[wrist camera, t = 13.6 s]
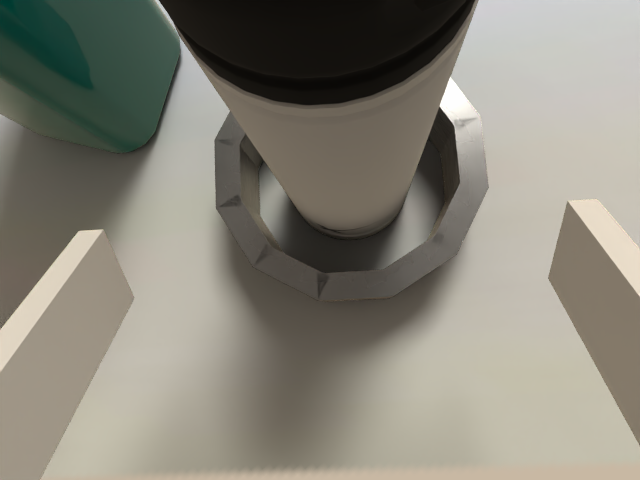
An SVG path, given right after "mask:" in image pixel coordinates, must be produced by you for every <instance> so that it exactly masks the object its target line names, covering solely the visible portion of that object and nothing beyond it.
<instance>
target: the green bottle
mask: <svg viewBox="0 0 640 480" xmlns="http://www.w3.org/2000/svg"><path fill="white" fill-rule="evenodd" d="M179 55H180V40H179V36H178V34H177V33H176V31H175V29H174V27H173V26H172V24H171V23H170V21H169V20H168V18H167V17H166V15H165V14H164V12H163V11H162V10H161V8H160V7H159V5H158V4H157V2H156V1H155V0H0V114H1V115H3V116H5V117H7V118H9V119H11V120H13V121H15V122H16V123H18V124H20V125H22V126H24V127H26V128H28V129H30V130H31V131H33V132H35V133H37V134H39V135H43V136H47V137H51V138H55V139H59V140H64V141H68V142H72V143H76V144H80V145H85V146H89V147H93V148H97V149H101V150H106V151H110V152H114V153H124V152H130V151H134V150H136V149H138V148H139V147H141V146H143V145H144V144H146V143H147V142H148V141H149V139H150V138H151V137H152V136H153V134H154V133H155V131H156V128H157V125H158V122H159V118H160V115H161V112H162V109H163V106H164V103H165V100H166V96H167V93H168V90H169V87H170V84H171V81H172V78H173V74H174V71H175V68H176V65H177V62H178V59H179Z"/></svg>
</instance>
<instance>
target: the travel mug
mask: <svg viewBox="0 0 640 480" xmlns="http://www.w3.org/2000/svg"><path fill="white" fill-rule="evenodd" d="M159 1H160V2H161V4H162V5H163V7H164V8H165V10H166V11H167V12H168V14H169V16H170V18H171V19H172V21H173V22H174V25H175V27H176V30H177V32H178V34H179V36H180V38H181V39H182V41H183V42H184V44H185V45H186V47H187V48H188V49H189V51H190V52H191V54H192V55H193V57H194V58H195V60H196V61H197V63H198V64H199V66H200V67H201V69H202V70H203V71H204V73H205V74H206V76H207V77H208V79H209V80H210V82H211V83H212V85H213V86H214V88H215V89H216V91H217V92H218V94H219V95H220V96H221V98H222V99H223V101H224V102H225V104H226V105H227V107H228V108H229V110H230V111H231V113H232V114H233V116H234V117H235V118H236V120H237V121H238V123H239V124H240V126H241V127H242V129H243V130H244V132H245V133H246V135H247V136H248V138H249V139H250V140H251V142H252V143H253V145H254V146H255V148H256V149H257V151H258V152H259V154H260V155H261V157H262V158H263V160H264V161H265V162H266V164H267V165H268V167H269V168H270V170H271V171H272V173H273V174H274V176H275V177H276V179H277V180H278V182H279V183H280V184H281V186H282V187H283V189H284V190H285V192H286V193H287V195H288V196H289V198H290V199H291V201H292V202H293V204H294V205H295V206H296V208H297V209H298V211H299V212H300V214H301V215H302V217H303V218H304V219H305V221H306V222H307V223H308V224H310V225H311V226H312V227H313V228H314V229H316V230H317V231H319V232H320V233H322V234H324V235H327V236H330V237H332V238H337V239H342V240H357V239H361V238H365V237H369V236H371V235H373V234H376V233H378V232H379V231H381V230H382V229H384V228H385V227H387V226H388V225H389V224H390V223H391V222H392V221H393V220H394V219H395V218H396V216H397V215H398V213H399V212H400V210H401V208H402V206H403V204H404V201H405V198H406V196H407V193H408V190H409V188H410V185H411V182H412V179H413V177H414V174H415V171H416V169H417V166H418V163H419V160H420V158H421V155H422V152H423V150H424V147H425V144H426V141H427V139H428V136H429V133H430V131H431V128H432V125H433V122H434V120H435V117H436V114H437V112H438V109H439V106H440V104H441V101H442V98H443V95H444V93H445V90H446V87H447V85H448V82H449V79H450V76H451V74H452V71H453V68H454V66H455V63H456V60H457V57H458V55H459V52H460V49H461V47H462V44H463V41H464V38H465V36H466V33H467V30H468V28H469V25H470V22H471V20H472V17H473V14H474V11H475V8H476V6H477V3H478V0H159Z"/></svg>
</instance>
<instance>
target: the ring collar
mask: <svg viewBox="0 0 640 480" xmlns="http://www.w3.org/2000/svg"><path fill="white" fill-rule="evenodd" d="M428 138H429V139H430V141H431V142H432V143H433V145H434V146H435V147H436V149H437V150H438V152H439V153H440V154H441V164H442V175H443V185H444V196H445V204H444V206H443V208H442V210H441V212H440V214H439V216H438V218H437V221H436V223H435V225H434V227H433V229H432V231H431V233H430V235H429V237H428V239H427V241H426V242H425V243H423V244H422V245H420V246H419V247H417V248H416V249H414V250H413V251H411V252H410V253H408V254H406V255H405V256H403V257H402V258H400V259H399V260H397V261H396V262H394V263H393V264H391V265H390V266H388V267H387V268H385V269H383V270H367V271H350V272H334V273H322V272H320V271H318V270H316V269H314V268H312V267H310V266H308V265H306V264H304V263H302V262H300V261H298V260H296V259H294V258H292V257H290V256H288V255H286V254H284V253H283V251H282V249H281V248H280V246H279V245H278V243H277V242H276V240H275V238H274V237H273V235H272V234H271V232H270V231H269V229H268V228H267V226H266V224H265V223H264V221H263V220H262V218H261V217H260V197H259V167H260V165H261V163H262V162H263V158H262V157H261V155H260V154H259V152H258V151H257V149H256V148H255V146H254V145H253V143H252V142H251V140H250V139H249V138H248V136H247V135H246V133H245V132H244V130H243V129H242V127H241V126H240V124H239V123H238V121H237V120H236V118H235V117H234V116H233V114H232V113H231V111H230V112H229V114H228V116H227V118H226V120H225V122H224V123H223V125H222V127H221V129H220V131H219V133H218V135H217V136H216V138H215V185H216V209H217V211H218V212H219V214H220V215H221V217H222V219H223V220H224V222H225V223H226V225H227V227H228V228H229V230H230V231H231V233H232V235H233V236H234V238H235V239H236V241H237V243H238V244H239V246H240V247H241V249H242V251H243V252H244V254H245V255H246V257H247V259H248V260H249V262H250V263H251V265H252V267H253V268H255V269H257V270H259V271H261V272H263V273H265V274H267V275H269V276H271V277H273V278H275V279H277V280H279V281H281V282H283V283H284V284H286V285H288V286H290V287H292V288H294V289H296V290H298V291H300V292H302V293H304V294H306V295H308V296H310V297H312V298H314V299H316V300H318V301H324V302H330V301H348V300H366V299H384V298H390V297H393V296H395V295H396V294H398V293H399V292H401V291H402V290H404V289H405V288H407V287H408V286H410V285H411V284H413V283H414V282H416V281H417V280H419V279H420V278H422V277H423V276H425V275H426V274H428V273H429V272H431V271H432V270H434V269H435V268H437V267H438V266H440V265H442V264H443V263H445V262H446V261H448V260H449V259H451V258H452V257H454V256H455V255H457V253H458V251H459V249H460V247H461V244H462V242H463V240H464V238H465V236H466V234H467V232H468V230H469V228H470V226H471V224H472V221H473V219H474V217H475V215H476V213H477V211H478V209H479V207H480V205H481V203H482V200H483V198H484V196H485V194H486V192H487V190H488V187H489V186H488V177H487V168H486V159H485V150H484V141H483V132H482V123H481V117H480V115H479V114H478V112H477V111H476V110H475V108H474V107H473V106H472V105H471V103H470V102H469V101H468V99H467V98H466V97H465V96H464V94H463V93H462V92H461V90H460V89H459V88H458V87H457V85H456V84H455V83H454V81H453V80H452V79H451V78H450V79H449V82H448V85H447V87H446V90H445V93H444V95H443V98H442V101H441V104H440V106H439V109H438V112H437V114H436V117H435V120H434V122H433V125H432V128H431V131H430V133H429V136H428Z"/></svg>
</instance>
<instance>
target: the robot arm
mask: <svg viewBox="0 0 640 480" xmlns="http://www.w3.org/2000/svg"><path fill="white" fill-rule="evenodd" d="M548 279H549V281H550V282H551V284H552V286H553V288H554V290H555V292H556V293H557V295H558V297H559V299H560V301H561V303H562V304H563V306H564V308H565V310H566V312H567V314H568V315H569V317H570V319H571V321H572V323H573V325H574V326H575V328H576V330H577V332H578V334H579V335H580V337H581V339H582V341H583V343H584V345H585V346H586V348H587V350H588V352H589V354H590V356H591V357H592V359H593V361H594V363H595V365H596V367H597V368H598V370H599V372H600V374H601V376H602V378H603V379H604V381H605V383H606V385H607V387H608V388H609V390H610V392H611V394H612V396H613V398H614V399H615V401H616V403H617V405H618V407H619V409H620V410H621V412H622V414H623V416H624V418H625V420H626V421H627V423H628V425H629V427H630V429H631V431H632V432H633V434H634V436H635V438H636V440H637V441H638V443H639V445H640V248H639V247H638V246H637V245H636V244H635V242H634V241H633V240H632V239H631V238H630V237H629V235H628V234H627V233H626V232H625V231H624V230H623V228H622V227H621V226H620V225H619V224H618V223H617V221H616V220H615V219H614V218H613V217H612V216H611V214H610V213H609V212H608V211H607V210H606V209H605V207H604V206H603V205H602V204H601V203H600V202H599V200H598V199H589V200H572V201H567V205H566V209H565V213H564V217H563V221H562V225H561V229H560V233H559V237H558V241H557V245H556V249H555V253H554V257H553V261H552V265H551V269H550V273H549V277H548ZM133 300H134V296H133V294H132V291H131V289H130V287H129V285H128V282H127V280H126V278H125V276H124V274H123V271H122V269H121V267H120V265H119V263H118V260H117V258H116V256H115V254H114V251H113V249H112V247H111V245H110V243H109V240H108V238H107V236H106V234H105V231H104V229H101V230H84V231H78V233H77V234H76V235H75V236H74V238H73V239H72V240H71V241H70V243H69V244H68V245H67V246H66V248H65V249H64V250H63V251H62V253H61V254H60V255H59V256H58V258H57V259H56V260H55V261H54V263H53V264H52V265H51V267H50V268H49V269H48V270H47V272H46V273H45V274H44V275H43V277H42V278H41V279H40V280H39V282H38V283H37V284H36V285H35V287H34V288H33V289H32V290H31V292H30V293H29V294H28V296H27V297H26V298H25V299H24V301H23V302H22V303H21V304H20V306H19V307H18V308H17V309H16V311H15V312H14V313H13V314H12V316H11V317H10V318H9V319H8V321H7V322H6V323H5V324H4V326H3V327H2V328H1V330H0V480H40V479H41V477H42V475H43V473H44V471H45V469H46V467H47V465H48V463H49V461H50V459H51V457H52V456H53V454H54V452H55V450H56V448H57V446H58V444H59V442H60V440H61V438H62V436H63V434H64V432H65V431H66V429H67V427H68V425H69V423H70V421H71V419H72V417H73V415H74V413H75V411H76V409H77V407H78V406H79V404H80V402H81V400H82V398H83V396H84V394H85V392H86V390H87V388H88V386H89V384H90V382H91V381H92V379H93V377H94V375H95V373H96V371H97V369H98V367H99V365H100V363H101V361H102V359H103V357H104V356H105V354H106V352H107V350H108V348H109V346H110V344H111V342H112V340H113V338H114V336H115V334H116V332H117V331H118V329H119V327H120V325H121V323H122V321H123V319H124V317H125V315H126V313H127V311H128V309H129V307H130V306H131V304H132V302H133Z"/></svg>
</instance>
